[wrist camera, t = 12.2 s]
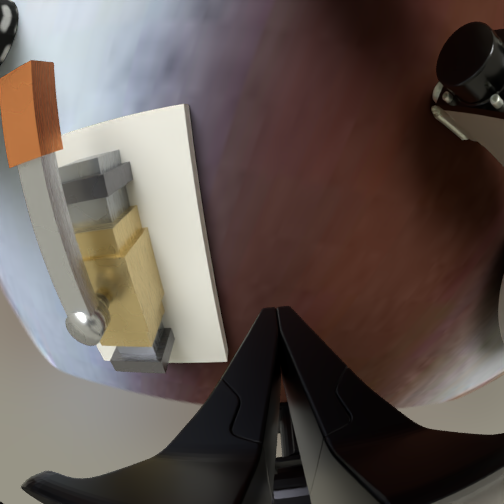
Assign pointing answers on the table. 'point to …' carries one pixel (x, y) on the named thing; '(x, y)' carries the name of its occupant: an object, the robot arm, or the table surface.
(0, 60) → the spotted tube
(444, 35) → the table surface
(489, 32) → the pneumatic valve
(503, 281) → the serving bowl
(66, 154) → the base plate
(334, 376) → the robot arm
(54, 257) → the valve lever
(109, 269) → the valve pipe run
